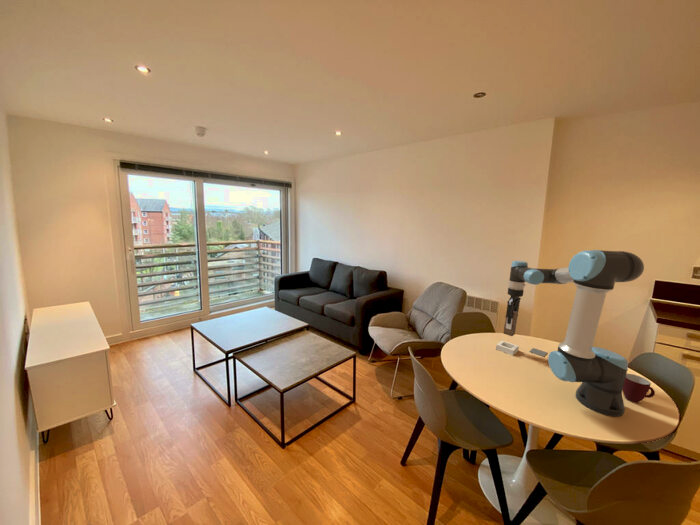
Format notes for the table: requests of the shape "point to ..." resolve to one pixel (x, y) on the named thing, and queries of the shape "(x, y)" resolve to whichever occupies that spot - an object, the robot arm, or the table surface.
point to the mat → (538, 352)
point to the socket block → (507, 347)
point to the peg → (512, 331)
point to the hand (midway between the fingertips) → (510, 327)
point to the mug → (636, 388)
